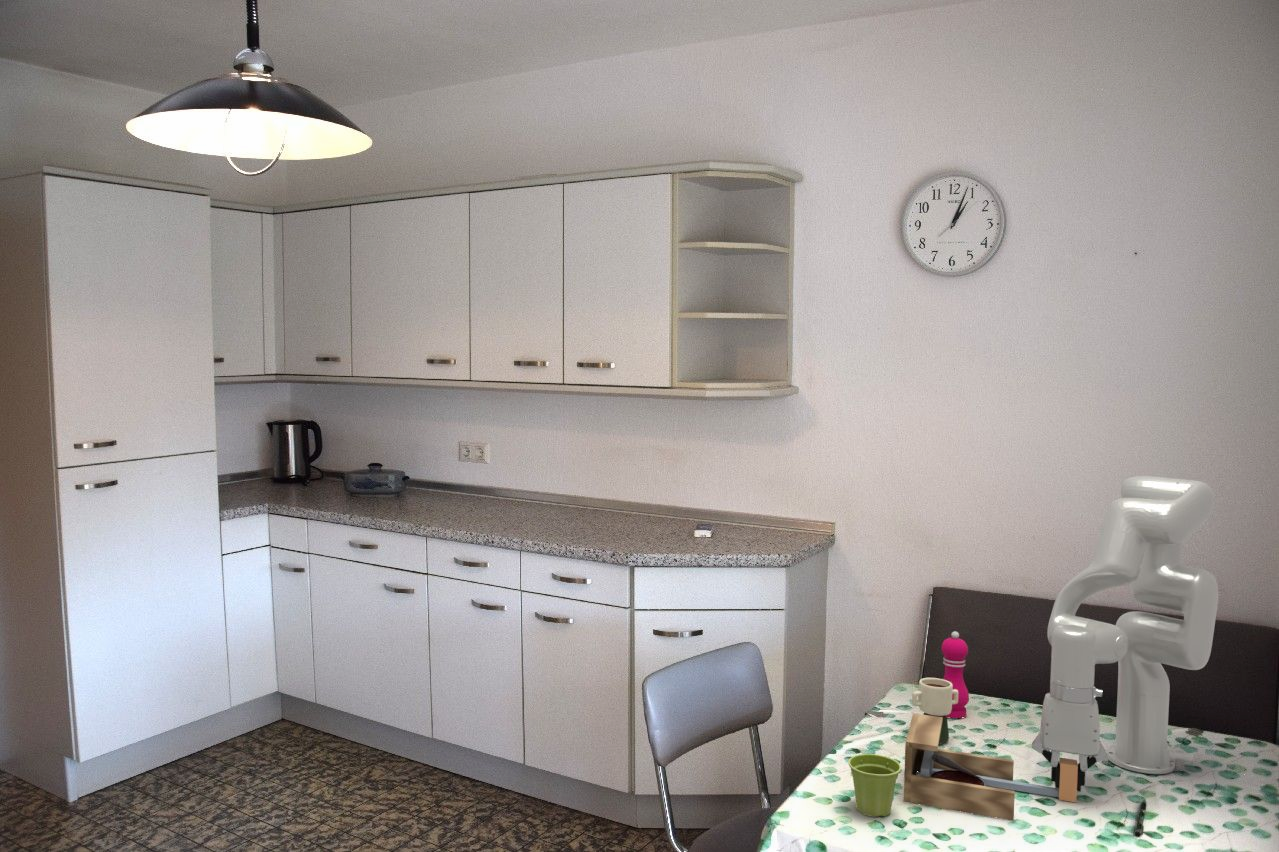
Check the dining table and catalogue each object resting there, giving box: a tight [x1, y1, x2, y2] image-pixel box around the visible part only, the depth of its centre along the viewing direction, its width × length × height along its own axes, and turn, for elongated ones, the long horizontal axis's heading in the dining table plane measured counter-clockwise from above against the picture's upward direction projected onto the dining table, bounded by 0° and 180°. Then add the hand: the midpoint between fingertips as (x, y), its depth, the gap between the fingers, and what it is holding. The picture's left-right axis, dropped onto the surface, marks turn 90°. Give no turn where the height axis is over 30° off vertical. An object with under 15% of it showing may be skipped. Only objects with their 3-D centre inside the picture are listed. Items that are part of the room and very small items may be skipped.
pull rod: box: [920, 750, 1078, 803], centre depth 178 cm, size 28×14×7 cm, turn 69°
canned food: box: [931, 753, 986, 786], centre depth 180 cm, size 11×10×10 cm
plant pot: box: [847, 753, 902, 818], centre depth 172 cm, size 9×9×9 cm
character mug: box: [911, 677, 958, 744], centre depth 207 cm, size 11×7×13 cm, turn 101°
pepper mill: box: [941, 630, 970, 719], centre depth 223 cm, size 7×7×20 cm
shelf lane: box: [902, 712, 1016, 822], centre depth 180 cm, size 19×16×12 cm
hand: (1067, 786), depth 179 cm, fingers closed on pull rod, 3 cm apart
